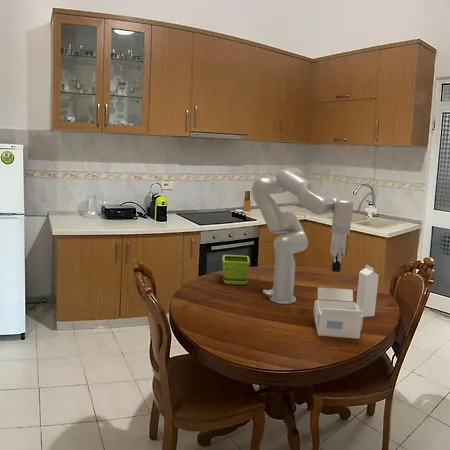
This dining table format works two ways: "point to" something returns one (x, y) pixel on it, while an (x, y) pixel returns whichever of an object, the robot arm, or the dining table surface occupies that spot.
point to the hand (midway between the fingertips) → (335, 271)
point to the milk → (367, 291)
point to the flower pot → (230, 269)
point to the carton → (337, 320)
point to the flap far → (335, 294)
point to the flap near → (342, 312)
